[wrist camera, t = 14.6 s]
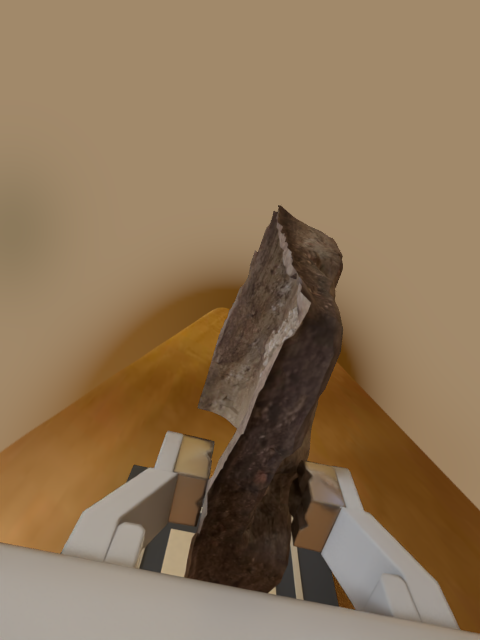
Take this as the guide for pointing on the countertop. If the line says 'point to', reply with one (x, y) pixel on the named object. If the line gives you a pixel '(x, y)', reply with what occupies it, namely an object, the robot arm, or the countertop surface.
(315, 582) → the board
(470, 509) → the countertop surface
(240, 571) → the mineral sample
